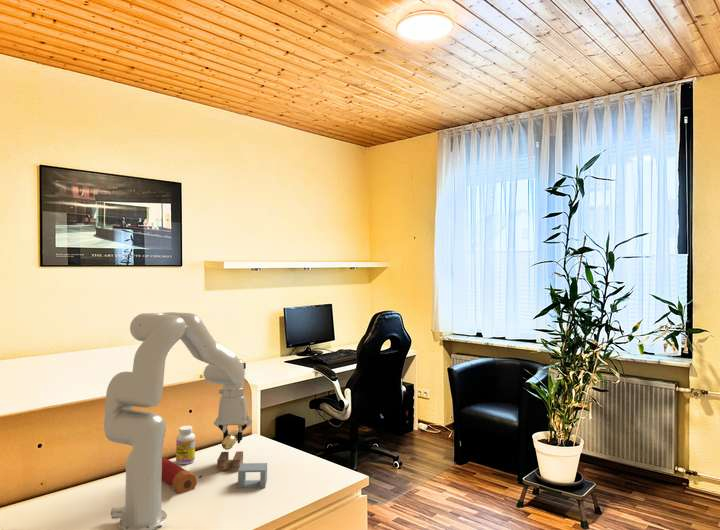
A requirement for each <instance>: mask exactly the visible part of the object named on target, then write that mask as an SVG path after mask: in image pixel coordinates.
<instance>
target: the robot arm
mask: <svg viewBox="0 0 720 530" xmlns="http://www.w3.org/2000/svg"><path fill="white" fill-rule="evenodd" d="M129 325H130V326H129V331H130V334H131V337H133V339H135V340H136V341H140V342H142V343H141V344H140V345H139V346H138V348H137V350H136V352H135V353H134V358H133V364H132V371H121V372H119V373H117V374H115V375H114V376H113V377H112V378H111V380H110V381H109V383H108V386H107V389H106V394H105V402H104V403H105V406H104V418H103V419H104V421H103V432H104V435H105V438H106V439H107V440H108V441H110V442H112V443H116V444H120V445H121V444H122V445H127V446H132V450H131V452H130V453H129V455H128V457H127V458H126V462H125V505H124V506H123V507H112V508H111V510H110V515H111V519H120V520H119V524H118V527H119V530H158V529H159V528H161V527H162V524H163V523H164V522H165V521H167V517H168V513H167V512H166V511H164V509H162V492H163V490H162V482H163V481H162V458H163V447H164V446H163V445H164V441H165V437H166V432H167V423H166V420H165V418H164V417H163V416H161V415H159V414H158V413H155V412H153V411H146V410H145V411H144V410H135V409H134V410H133V407H136V408H149V409H150V408H154V407H156V406H158V405H159V404H160V402H161V401H162V398H163V393H164V379H165V368H166V367H165V366H166V360H167V359H166V358H167V356H168V353H169V352H170V350H171V349H172V348H173V346H175V344H176V343H177V342H179V341H181V342H182V343H183V344H184V345H185V347H186V348H187V350H188V351H189V353H190V354H191V355H192V356H193V358H195V359H197V360H198V361H200V362H203V363H206V364H207V366H205V367H204V369H203V370H204V371H203V379H205V381H206V382H207V383H210V384H216V385H222V388H221V389H219V390H218V394H221V396H220V399H219V402H218V403H219V404H218V413H217V415H218V416H217V417H216V419H215V420H214V421H213V425H214V426H216V427H217V428H218V429H220V430H221V431H222V437H223V439H222V441H223V440H224V439H225V438H226V436H227V435H228V434H229V429H228V426H237V428H238V430H237V431H238V440H237V444H240V443H241V441H243V432H244V430H245V429H246V428H247V427H248V426H250V425H252V424H253V421H252V418H251V417H250V416H249V414H248V404H247V398H246V395H244V393H245V392H244V386H245V385H244V384H245V383H244V381H245V380H244V379H245V375H246V374H245V364H244V361H243V360H242V359H241V358H239V357H238V356H237V355H236V354H235V353H234V352H233V351H231V349H228V348H227V347H225V346H224V345H222V344H221V343H220V342H217V341H216V340H215V339H214V337H213V336H212V334H211V333H210V331H209V330H208V329H207V327H206V326H205V324H204V322H203V321H202V320H201V318H200V317H199V316H198V315H197V314H194V313H191V312H176V311H175V312H150V313H149V312H148V313H147V312H146V313H143V312H142V313H140V314H138V315H136V316H134V318H133V319H132V320H131V322H130V324H129Z"/></svg>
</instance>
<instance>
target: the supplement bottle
mask: <svg viewBox="0 0 720 530" xmlns="http://www.w3.org/2000/svg"><path fill="white" fill-rule="evenodd" d="M175 444H176V445H175V447H176V449H175V450H176V451H175V462H176V464H177V465H181V464H186V465H189V463H190V464H192V463H194V462H195V459H196V458H195V457H196V456H195V455H196V453H195V452H196V435H195V433H193V426H192V425H183V426H180V427H179V434H178V435H176V442H175Z"/></svg>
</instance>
